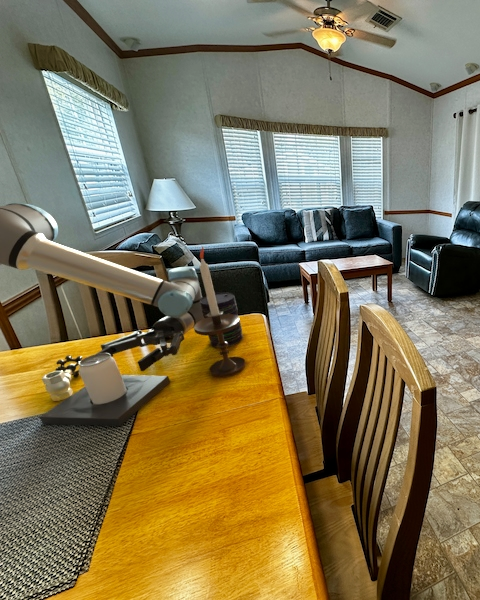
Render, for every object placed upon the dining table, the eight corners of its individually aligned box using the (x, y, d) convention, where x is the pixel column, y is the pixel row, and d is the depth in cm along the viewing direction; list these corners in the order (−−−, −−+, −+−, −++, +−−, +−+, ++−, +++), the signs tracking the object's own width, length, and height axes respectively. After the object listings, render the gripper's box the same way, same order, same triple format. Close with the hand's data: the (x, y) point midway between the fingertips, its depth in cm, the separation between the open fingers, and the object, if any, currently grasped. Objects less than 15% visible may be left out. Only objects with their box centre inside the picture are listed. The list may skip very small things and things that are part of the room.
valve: (77, 397, 81) (93, 372, 91) (67, 375, 79) (84, 352, 89) (41, 405, 78) (61, 379, 88) (29, 383, 76) (51, 358, 86)
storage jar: (220, 350, 102) (210, 306, 96) (204, 342, 107) (192, 300, 101) (249, 337, 109) (241, 296, 104) (232, 330, 114) (223, 290, 109)
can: (114, 410, 77) (96, 367, 72) (87, 410, 77) (67, 367, 72) (135, 392, 83) (119, 351, 78) (110, 392, 83) (93, 351, 78)
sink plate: (42, 424, 73) (38, 416, 72) (105, 380, 88) (102, 374, 87) (120, 426, 72) (117, 419, 71) (170, 382, 87) (168, 375, 86)
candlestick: (250, 355, 99) (227, 240, 86) (246, 375, 90) (219, 250, 77) (210, 361, 96) (180, 243, 83) (202, 382, 87) (166, 253, 73)
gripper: (215, 338, 101) (167, 379, 81) (137, 336, 102) (71, 377, 82) (210, 316, 98) (158, 353, 78) (130, 315, 99) (59, 351, 79)
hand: (113, 366), depth 80 cm, fingers open, 13 cm apart
